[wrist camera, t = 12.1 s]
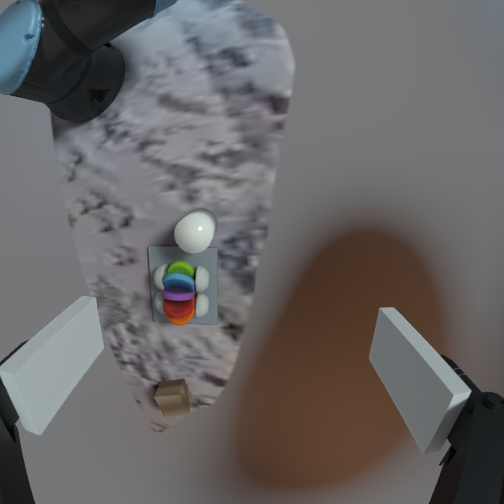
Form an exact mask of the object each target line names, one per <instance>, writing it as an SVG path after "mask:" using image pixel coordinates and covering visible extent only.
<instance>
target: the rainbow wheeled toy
mask: <svg viewBox="0 0 504 504" xmlns="http://www.w3.org/2000/svg"><path fill="white" fill-rule="evenodd" d="M154 283H155V285H156V286H157V287H158V288H159V289H161V291H159V292H158V293H157V294H156V297H155V306H156V308H157V310H158V311H159V312H161V313H162V314H166V317H167V318H168V320H169V321H170V322H172V323H173V324H175V325H184V324H187V323H188V322H190V321H191V319H192V318H193V316H194V314H195V316H196V318H200V317H203V316H205V315H206V314H207V313H208V309H209V299H208V297H207V296H206V295H205V294H203V293H201V292H202V291H204V290H206V289H207V288H208V286H209V272H208V271H207V270H206V269H205V268H204V267H202V266H197V270H196V278H195V269H194V268H193V267H192V266H191V265H190V264H189V263H187V262H185V261H175V262H173V263H172V264H171V265H170V266H169V267H168V265H167V264H164V265H161V266H159V267H158V268H157V269H156V270H155V272H154ZM194 291H196V292H197V293H198V294H197V297H195V292H194Z"/></svg>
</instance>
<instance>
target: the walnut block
mask: <svg viewBox="0 0 504 504" xmlns="http://www.w3.org/2000/svg"><path fill="white" fill-rule="evenodd" d="M154 398H155V400H156V402H157V404H158V405H159V407H160V409H161V411H162V413H163V415H164V416H175V415H188V414H189V411H190V406H191V402H192V396H191V394H190V391H189V389H188V387H187V384H186V382H185V380H184V379H178V380H169V381H160V384H159V386H158V389H157V391H156V394H155V396H154Z"/></svg>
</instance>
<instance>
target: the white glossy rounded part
mask: <svg viewBox="0 0 504 504" xmlns="http://www.w3.org/2000/svg"><path fill="white" fill-rule="evenodd" d="M216 230H217V219H216V217H215V215H214V214H213V213H212V212H211V211H209V210H207V209H204V208H198V209H195V210H193V211H191V212H190V213H189V214H188V215H186V216H185V217H184V218H183V219H182V220H181V221H180V222H179V223H178V224H177V226H176V228H175V232H174V236H175V241H176V243H177V245H178V246H179V247H180V248H181V249H182V250H184V251H185V252H188V253H200V252H202V251H204V250H205V249H206V248H207V247H208V246H209V244H210V242H211V240H212V238H213V236H214V234H215V232H216Z"/></svg>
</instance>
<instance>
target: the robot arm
mask: <svg viewBox="0 0 504 504" xmlns="http://www.w3.org/2000/svg"><path fill="white" fill-rule="evenodd" d="M177 1H178V0H38V1H37V0H18V1H16V2H14V3H13V4H11V5H10V6H9V7H8V8H6V10H4V12H3V13H2V14H1V15H0V92H1V93H2V94H4V95H11V96H16V97H20V98H25V99H29V100H34V101H38V102H42V103H44V104H45V105H46V106H47V107H48V108H49V109H50V110H51V111H52V112H53V113H54V114H55V115H56V116H57V117H59V118H61V119H64V120H68V121H72V122H82V121H86V120H89V119H92V118H94V117H96V116H97V115H99V114H100V113H102V112H103V111H104V110H105V109H106V108H107V107H108V106H109V105H110V104H111V103H112V102H113V100H114V99H115V97H116V96H117V94H118V92H119V90H120V88H121V86H122V83H123V80H124V75H125V62H124V58H123V56H122V54H121V52H120V51H119V49H118V48H117V47H115V46H114V45H113V44H112V43H110V42H109V41H111V40H112V39H114V38H116V37H117V36H119V35H120V34H122V33H124V32H125V31H127V30H129V29H130V28H132V27H134V26H135V25H137V24H139V23H141V22H142V21H144V20H146V19H148V18H149V19H151V18H153V17H154V16H156V14H157V13H159V12H161V11H163V10H165V9H166V8H168V7H170V6H172V5H174V4H175V3H176V2H177ZM103 349H104V344H103V339H102V333H101V328H100V322H99V316H98V310H97V303H96V297H88V296H82V297H81V298H79V299H78V300H77V301H75V302H74V303H73V304H72V305H71V306H69V307H68V308H67V309H66V310H65V311H63V312H62V313H61V314H60V315H58V316H57V317H56V318H55V319H54V320H52V321H51V322H50V323H49V324H48V325H46V326H45V327H44V328H43V329H42V330H41V331H39V332H38V333H37V334H36V335H35V336H34V337H33V338H31V339H29V340H27V341H25V342H23V343H21V344H20V345H19V346H18V347H17V348H16V349H14V351H12V352H11V353H10V354H9V356H7V357H5V358H4V359H3V360H2V361H1V362H0V504H35V501H34V498H33V495H32V491H31V488H30V484H29V480H28V476H27V473H26V468H25V463H24V459H23V454H22V449H21V444H20V438H19V432H18V429H17V427H16V425H15V423H16V421H17V420H18V419H20V420H21V423H22V424H23V426H24V428H25V430H27V431H30V432H33V433H35V434H37V435H41V434H42V433H43V431H44V430H45V428H46V427H47V425H48V424H49V422H50V421H51V420H52V418H53V417H54V415H55V414H56V412H57V411H58V410H59V408H60V406H61V405H62V404H63V402H64V401H65V400H66V398H67V397H68V396H69V394H70V393H71V391H72V390H73V388H74V387H75V386H76V385H77V383H78V382H79V381H80V379H81V378H82V376H83V375H84V374H85V372H86V371H87V370H88V368H89V367H90V366H91V364H92V363H93V362H94V360H95V359H96V358H97V357H98V355H99V354H100V353H101V351H102V350H103ZM369 360H370V362H371V363H372V365H373V367H374V369H375V370H376V372H377V374H378V375H379V377H380V379H381V381H382V382H383V384H384V386H385V387H386V389H387V391H388V393H389V394H390V396H391V398H392V400H393V401H394V403H395V405H396V407H397V408H398V410H399V412H400V414H401V416H402V417H403V419H404V421H405V423H406V424H407V426H408V428H409V430H410V432H411V434H412V435H413V437H414V439H415V441H416V443H417V445H418V447H419V448H420V450H421V452H422V454H423V455H424V454H428V453H432V452H435V451H438V450H440V449H441V448H442V446H443V444H444V443H445V441H446V439H448V440H449V442H450V443H451V446H450V448H449V450H448V451H447V453H446V454H445V456H444V457H443V459H442V461H441V462H440V464H439V465H442V464H443V462H444V464H443V467H442V470H441V473H440V476H439V479H438V482H437V484H436V487H435V490H434V492H433V495H432V497H431V500H430V502H429V504H504V398H503V397H501V396H500V395H499V394H496V393H493V392H483V393H482V392H481V391H480V390H479V389H478V388H477V386H476V385H475V384H474V383H473V382H472V381H471V380H470V379H469V378H468V377H467V375H464V372H463V371H462V370H461V369H459V367H458V366H457V365H456V364H455V363H454V362H453V361H452V360H451V359H449V358H447V357H446V356H444V355H439V354H438V353H437V352H436V351H435V350H434V349H433V348H432V347H431V346H430V345H429V343H427V341H426V340H425V339H424V338H423V337H422V336H421V335H420V334H419V333H418V332H417V331H416V330H415V329H414V328H413V327H412V326H411V325H410V324H409V323H408V322H407V321H406V319H405V318H403V316H402V315H401V314H400V313H398V311H397V310H396V309H395V308H379V313H378V318H377V323H376V328H375V333H374V337H373V342H372V346H371V350H370V355H369Z"/></svg>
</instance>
